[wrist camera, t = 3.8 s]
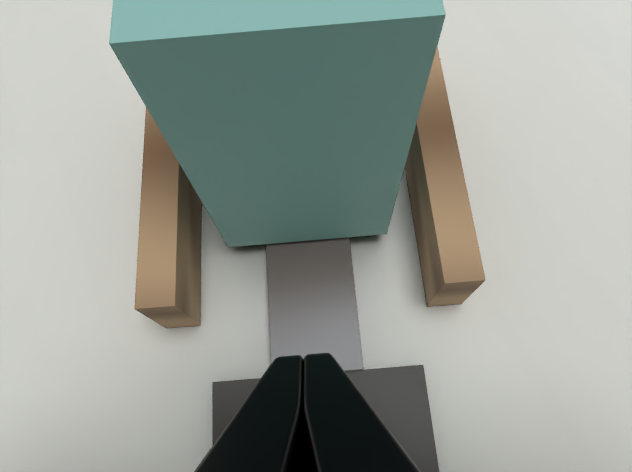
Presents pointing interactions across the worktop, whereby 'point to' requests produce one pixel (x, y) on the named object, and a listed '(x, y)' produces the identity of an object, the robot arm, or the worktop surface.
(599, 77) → the worktop surface
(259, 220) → the block
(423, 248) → the channel
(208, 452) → the robot arm
